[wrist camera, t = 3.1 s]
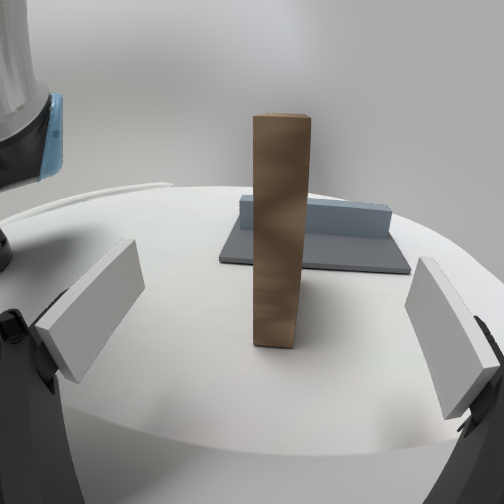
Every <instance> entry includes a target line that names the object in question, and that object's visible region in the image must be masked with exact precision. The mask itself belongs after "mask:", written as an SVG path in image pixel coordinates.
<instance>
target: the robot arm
mask: <svg viewBox="0 0 504 504" xmlns="http://www.w3.org/2000/svg"><path fill="white" fill-rule="evenodd" d="M62 122H63V99H62V95H61V94H59V93H52V94H51V95H49V89H48V86H47V83H46V82H45V81H44V80H42V79H40V78H38V77H34V72H33V67H32V60H31V53H30V45H29V35H28V24H27V5H26V0H0V193H1V192H4V191H7V190H10V189H14V188H17V187H20V186H24V185H27V184H31V183H34V182H39V181H41V180H42V179H44V178H47V177H50V176H53V175H55V174H57V173H58V172H59V171H60V169H61V167H62V162H63V160H62V159H63V139H62V138H63V123H62ZM11 257H12V250H11V247H10V244H9V241H8V239H7V238H6V236H5V235H4V233H3V232H2V230H1V229H0V272H1V271H2V270H3V269H4V268H5V267H6V265H7V264H8V263H9V261H10V260H11ZM144 289H145V285H144V280H143V276H142V272H141V267H140V262H139V257H138V253H137V247H136V242H135V240H133V239H121V240H120V241H119V242H118V243H117V244H116V245H115V246H114V247H112V248H111V249H110V250H109V251H108V252H107V253H106V254H105V255H104V256H103V257H101V258H100V259H99V260H98V261H97V262H96V263H95V264H94V265H93V266H92V267H91V268H90V269H89V270H88V271H87V272H86V273H85V274H84V275H83V276H81V277H80V278H79V279H78V280H77V281H76V282H75V283H74V284H73V285H72V286H71V287H70V288H69V289H67V290H65V291H64V292H62V293H61V294H60V295H59V296H58V297H57V298H56V299H55V300H54V302H52V303H51V304H50V305H49V306H48V308H46V309H45V310H44V311H43V312H42V313H41V314H40V315H39V317H38V318H37V319H36V320H35V321H34V322H33V323H32V324H31V325H30V326H29V327H28V326H27V324H26V322H25V320H24V318H23V316H22V314H21V312H20V311H19V310H18V309H9V310H7V311H4V312H3V313H2V314H0V336H1V337H0V504H85V502H84V499H83V496H82V493H81V490H80V486H79V483H78V480H77V476H76V473H75V470H74V466H73V462H72V458H71V454H70V449H69V445H68V440H67V436H66V431H65V425H64V420H63V414H62V407H61V400H60V392H59V384H58V378H57V376H56V374H55V373H56V371H57V370H58V368H59V370H60V371H61V373H62V374H63V376H64V378H65V379H68V380H70V381H73V382H75V383H78V384H79V383H80V381H81V380H82V378H83V377H84V375H85V373H86V372H87V370H88V369H89V367H90V366H91V364H92V363H93V361H94V360H95V358H96V357H97V355H98V354H99V352H100V351H101V349H102V348H103V346H104V345H105V343H106V342H107V340H108V339H109V338H110V336H111V335H112V333H113V332H114V330H115V329H116V327H117V326H118V325H119V323H120V322H121V320H122V319H123V318H124V316H125V315H126V313H127V312H128V311H129V309H130V308H131V306H132V305H133V304H134V302H135V301H136V299H137V298H138V297H139V295H140V294H141V293H142V291H143V290H144ZM405 308H406V311H407V313H408V315H409V318H410V320H411V323H412V325H413V328H414V330H415V333H416V335H417V338H418V341H419V343H420V346H421V349H422V351H423V354H424V357H425V360H426V363H427V366H428V368H429V371H430V374H431V377H432V380H433V384H434V387H435V390H436V393H437V396H438V400H439V403H440V407H441V410H442V414H443V417H444V420H447V419H452V418H457V417H461V416H462V415H463V413H464V412H465V411H466V410H467V409H468V408H470V411H471V415H470V416H469V417H468V418H467V420H466V421H465V422H464V423H463V424H462V425H461V426H460V427H459V428H458V430H457V432H459V431H460V430H461V429H462V428H463V430H462V433H461V435H460V437H459V439H458V441H457V444H456V446H455V448H454V450H453V452H452V454H451V456H450V458H449V460H448V462H447V464H446V465H445V467H444V469H443V471H442V473H441V475H440V476H439V478H438V480H437V482H436V483H435V485H434V487H433V488H432V490H431V491H430V493H429V495H428V496H427V498H426V499H425V501H424V503H423V504H504V356H503V354H502V352H501V350H500V348H499V347H498V345H497V343H496V342H495V339H494V338H493V336H492V335H491V333H490V331H489V329H488V328H487V326H486V324H485V323H484V322H483V321H482V320H481V319H480V318H479V317H477V316H473V315H472V314H471V312H470V310H469V309H468V307H467V306H466V304H465V302H464V301H463V299H462V298H461V296H460V295H459V293H458V292H457V290H456V289H455V287H454V286H453V284H452V283H451V281H450V280H449V278H448V277H447V276H446V274H445V273H444V271H443V270H442V269H441V267H440V266H439V264H438V263H437V262H436V260H435V259H434V258H433V257H421V256H419V260H418V264H417V267H416V271H415V274H414V277H413V281H412V284H411V287H410V291H409V294H408V297H407V300H406V303H405Z"/></svg>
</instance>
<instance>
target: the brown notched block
mask: <svg viewBox="0 0 504 504" xmlns="http://www.w3.org/2000/svg"><path fill="white" fill-rule="evenodd" d="M310 139H311V118H310V117H308V116H307V115H305V114H286V113H285V114H284V113H266V114H261V115H256V116H253V345H263V346H275V347H288V348H293V341H294V333H295V325H296V317H297V308H298V299H299V290H300V280H301V270H302V260H303V249H304V237H305V225H306V212H307V197H308V180H309V162H310Z"/></svg>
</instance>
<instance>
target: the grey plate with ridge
mask: <svg viewBox="0 0 504 504" xmlns="http://www.w3.org/2000/svg"><path fill="white" fill-rule="evenodd" d="M391 215H392V211H391V209H390V208H389V207H388V206H387V205H381V204H372V203H361V202H351V201H339V200H326V199H313V198H307V212H306V225H305V237H304V249H303V260H302V267H307V268H322V269H339V270H355V271H373V272H391V273H409V274H410V272H411V268H410V266H409V264H408V263H407V261H406V259H405V257H404V256H403V254H402V252H401V251H400V249H399V248H398V246H397V244H396V243H395V241H394V240H393V238H392V236H391V235H390V233H389V232H388V231H389V226H390V221H391ZM219 262H233V263H247V264H253V195H242V197H241V199H240V215H239V217H238V219H237V221H236V223H235V225H234V227H233V229H232V231H231V233H230V235H229V237H228V239H227V241H226V243H225V245H224V247H223V249H222V251H221V253H220V255H219Z"/></svg>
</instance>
